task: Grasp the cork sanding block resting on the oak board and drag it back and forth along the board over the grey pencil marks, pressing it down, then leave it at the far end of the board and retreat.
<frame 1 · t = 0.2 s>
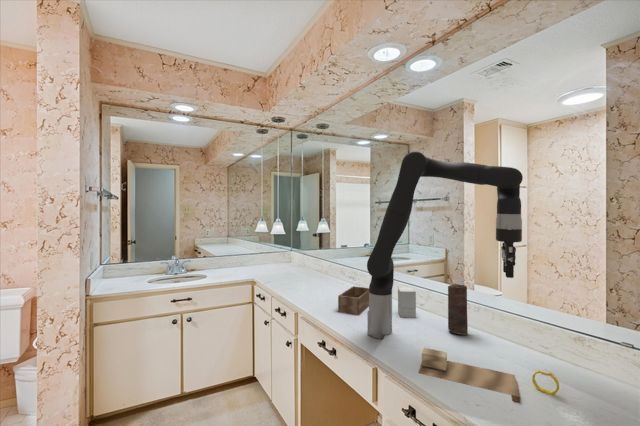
hand: (508, 274, 103), 29 cm above the counter, tool pointing down, fingers open, 8 cm apart
supplement box: (406, 315, 146), on the counter
board: (466, 378, 91), on the counter
yellow wavy ring: (545, 392, 85), on the counter
sanding block: (434, 366, 95), point 1 cm above the counter, touching board
open wooden box: (355, 307, 158), on the counter
rusty brown cylinder: (457, 333, 125), on the counter
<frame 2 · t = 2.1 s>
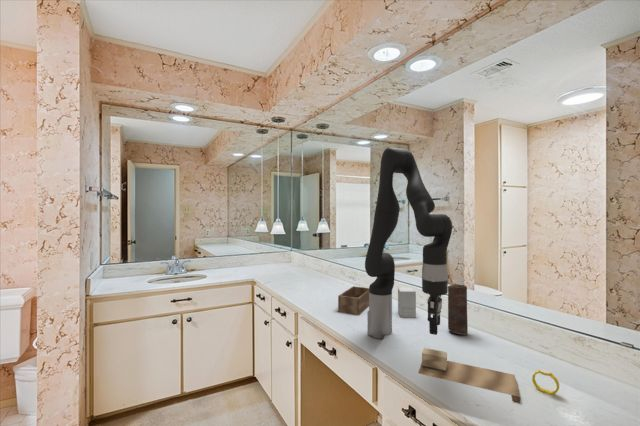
hand: (435, 329, 95), 13 cm above the counter, tool pointing down, fingers open, 8 cm apart
nothing on the counter moved.
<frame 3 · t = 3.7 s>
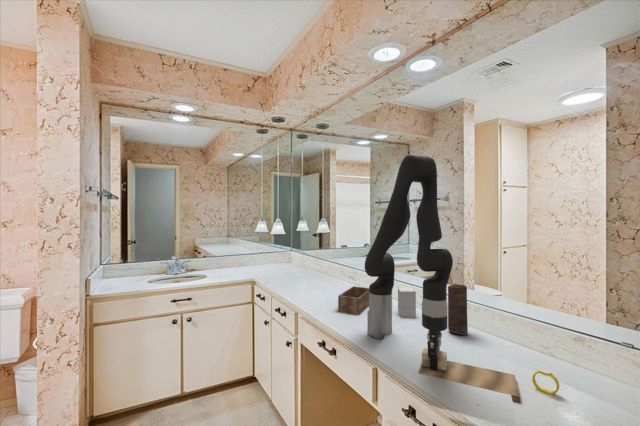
hand: (434, 366, 95), 2 cm above the counter, tool pointing down, fingers closed on sanding block, 4 cm apart
sanding block: (434, 366, 95), point 1 cm above the counter, touching board, gripper
everything else where it was.
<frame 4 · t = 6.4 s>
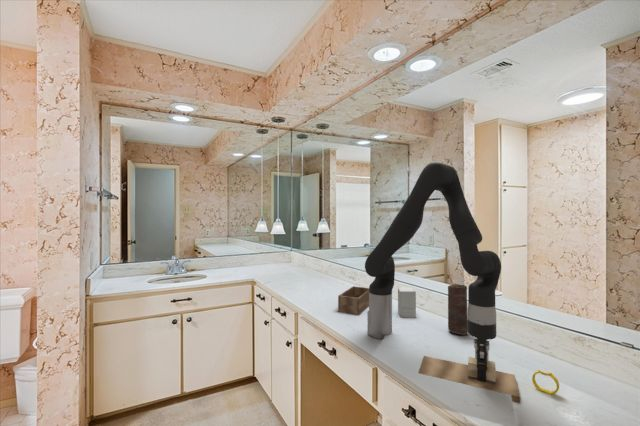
hand: (481, 376, 89), 2 cm above the counter, tool pointing down, fingers closed on sanding block, 4 cm apart
sanding block: (481, 377, 89), point 2 cm above the counter, touching gripper
everything else where it was.
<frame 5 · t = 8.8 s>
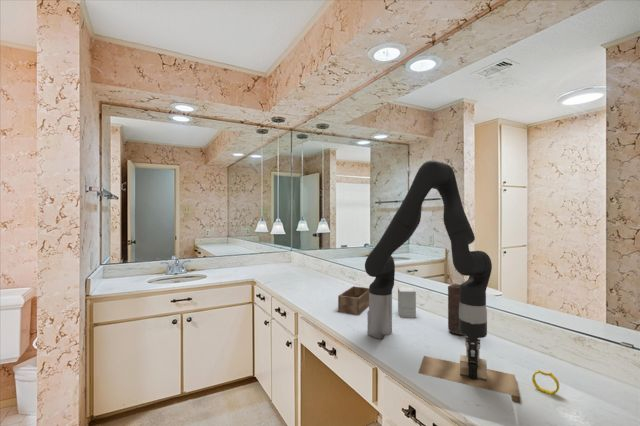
hand: (472, 374, 90), 2 cm above the counter, tool pointing down, fingers closed on sanding block, 4 cm apart
sanding block: (473, 374, 90), point 2 cm above the counter, touching gripper
everything else where it was.
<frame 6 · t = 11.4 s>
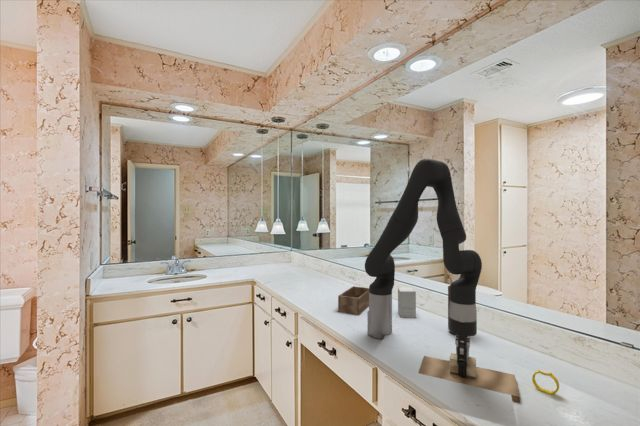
hand: (462, 372, 91), 2 cm above the counter, tool pointing down, fingers closed on sanding block, 4 cm apart
sanding block: (462, 372, 91), point 2 cm above the counter, touching gripper
everything else where it was.
when the fingers open (2 cm above the counter, at t = 14.0 s): sanding block stays where it is, resting on board.
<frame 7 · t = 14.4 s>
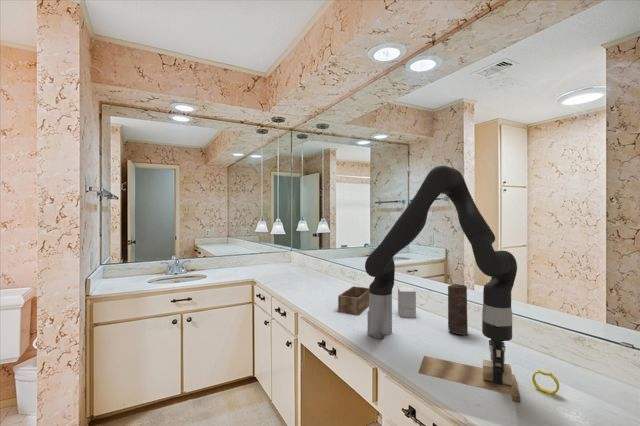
hand: (496, 376, 88), 3 cm above the counter, tool pointing down, fingers open, 7 cm apart
sanding block: (496, 380, 88), point 1 cm above the counter, touching board
everything else where it was.
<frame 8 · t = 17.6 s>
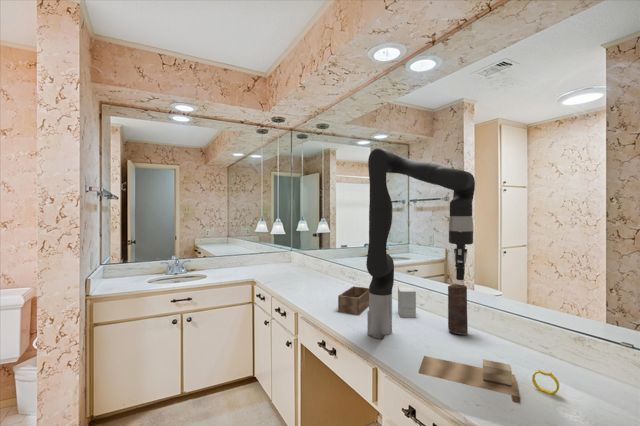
hand: (460, 277, 102), 28 cm above the counter, tool pointing down, fingers open, 8 cm apart
nothing on the counter moved.
at the end: sanding block inside the target area (0.1 cm from its centre), point 1.5 cm above the counter; sanding block touching board; sanding block tilted 0° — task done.
